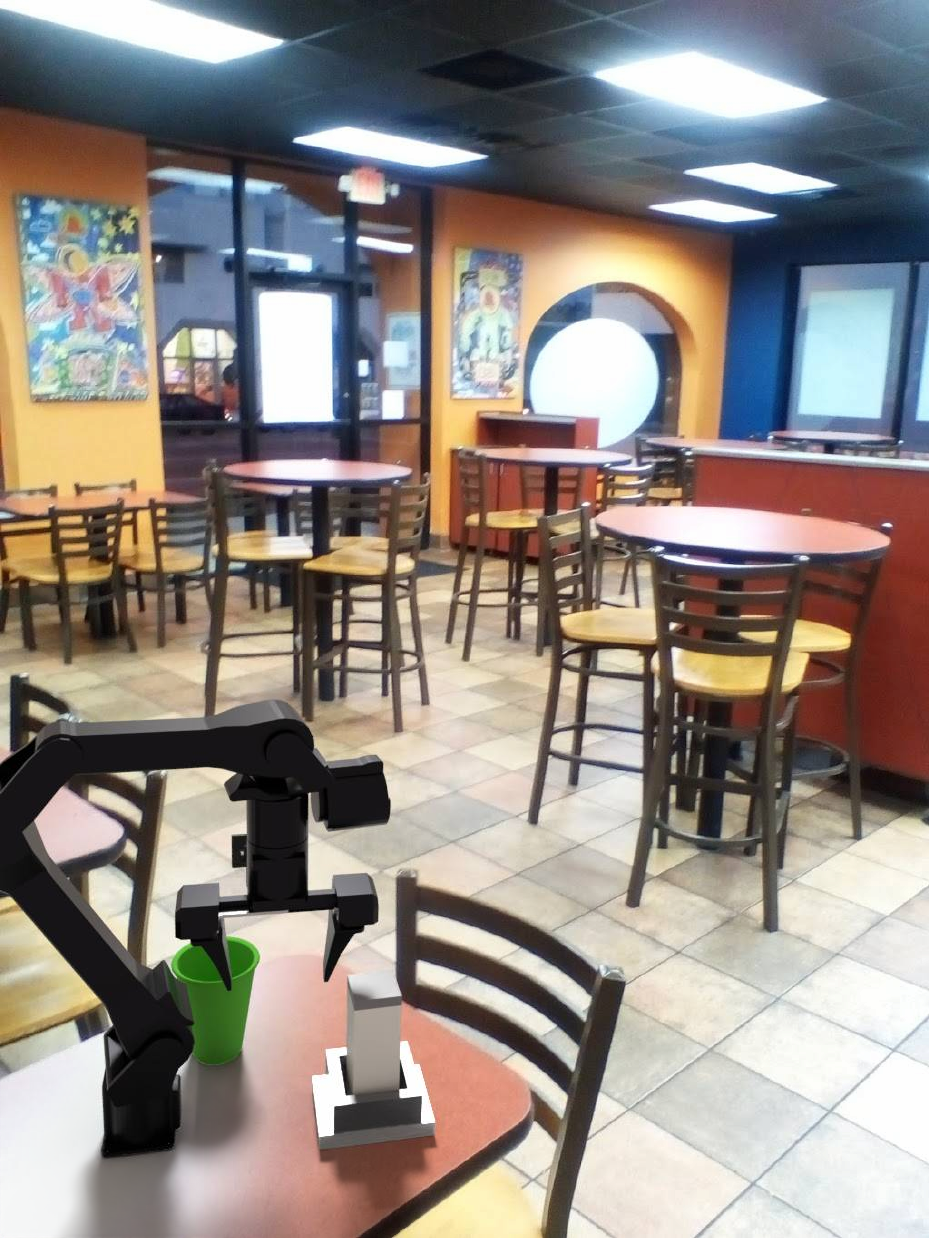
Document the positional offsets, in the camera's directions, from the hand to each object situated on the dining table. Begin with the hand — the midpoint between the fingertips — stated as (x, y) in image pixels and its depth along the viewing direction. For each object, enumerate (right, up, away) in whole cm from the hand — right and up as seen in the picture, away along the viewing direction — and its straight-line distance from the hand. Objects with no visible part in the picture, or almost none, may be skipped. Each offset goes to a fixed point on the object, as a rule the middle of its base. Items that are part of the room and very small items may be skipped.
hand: (278, 984), depth 98 cm
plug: (+9, -12, +2) cm, 15 cm away
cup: (-8, -11, +10) cm, 17 cm away
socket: (+9, -13, +2) cm, 16 cm away
